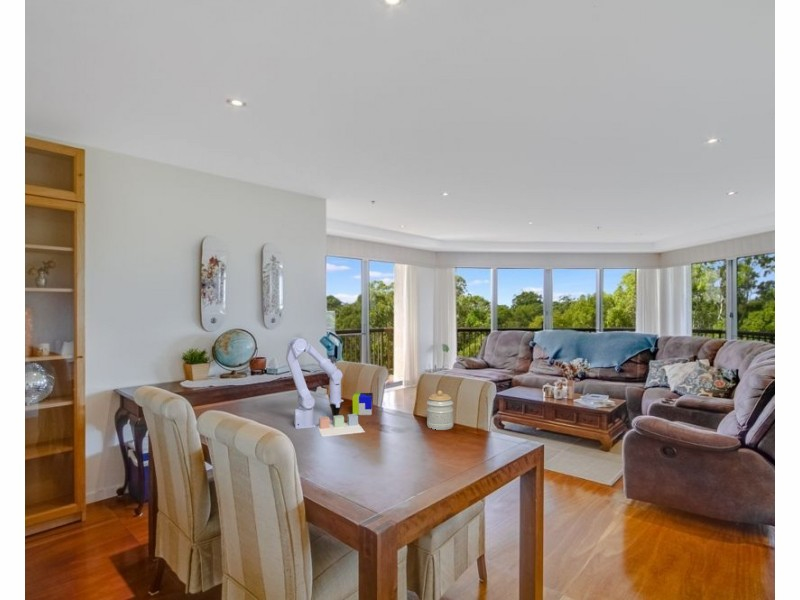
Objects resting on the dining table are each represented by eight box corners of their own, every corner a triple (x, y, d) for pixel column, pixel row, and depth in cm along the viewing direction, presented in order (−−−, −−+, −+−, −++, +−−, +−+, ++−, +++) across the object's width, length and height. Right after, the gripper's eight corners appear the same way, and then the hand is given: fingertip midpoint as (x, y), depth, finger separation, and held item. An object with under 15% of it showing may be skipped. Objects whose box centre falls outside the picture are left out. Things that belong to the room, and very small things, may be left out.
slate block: (349, 426, 210) (349, 416, 210) (347, 423, 214) (347, 414, 214) (358, 425, 211) (358, 416, 211) (356, 422, 215) (356, 413, 215)
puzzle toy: (371, 415, 230) (371, 397, 230) (352, 415, 230) (352, 397, 230) (372, 410, 240) (372, 392, 240) (355, 410, 240) (354, 393, 240)
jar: (453, 422, 215) (452, 387, 215) (453, 430, 202) (453, 393, 202) (427, 422, 216) (427, 387, 216) (426, 430, 203) (426, 393, 203)
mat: (322, 437, 194) (322, 436, 194) (317, 426, 211) (317, 425, 211) (365, 432, 200) (365, 431, 200) (356, 422, 217) (356, 421, 217)
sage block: (334, 427, 208) (334, 418, 208) (333, 424, 212) (333, 415, 212) (344, 426, 209) (344, 417, 209) (342, 424, 213) (342, 415, 213)
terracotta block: (320, 429, 205) (320, 419, 205) (319, 426, 210) (319, 417, 210) (329, 428, 207) (329, 418, 207) (328, 425, 211) (328, 416, 211)
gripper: (345, 394, 213) (346, 421, 213) (340, 388, 227) (340, 414, 227) (331, 395, 211) (332, 422, 211) (327, 389, 225) (327, 415, 225)
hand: (335, 418), depth 219 cm, fingers closed
